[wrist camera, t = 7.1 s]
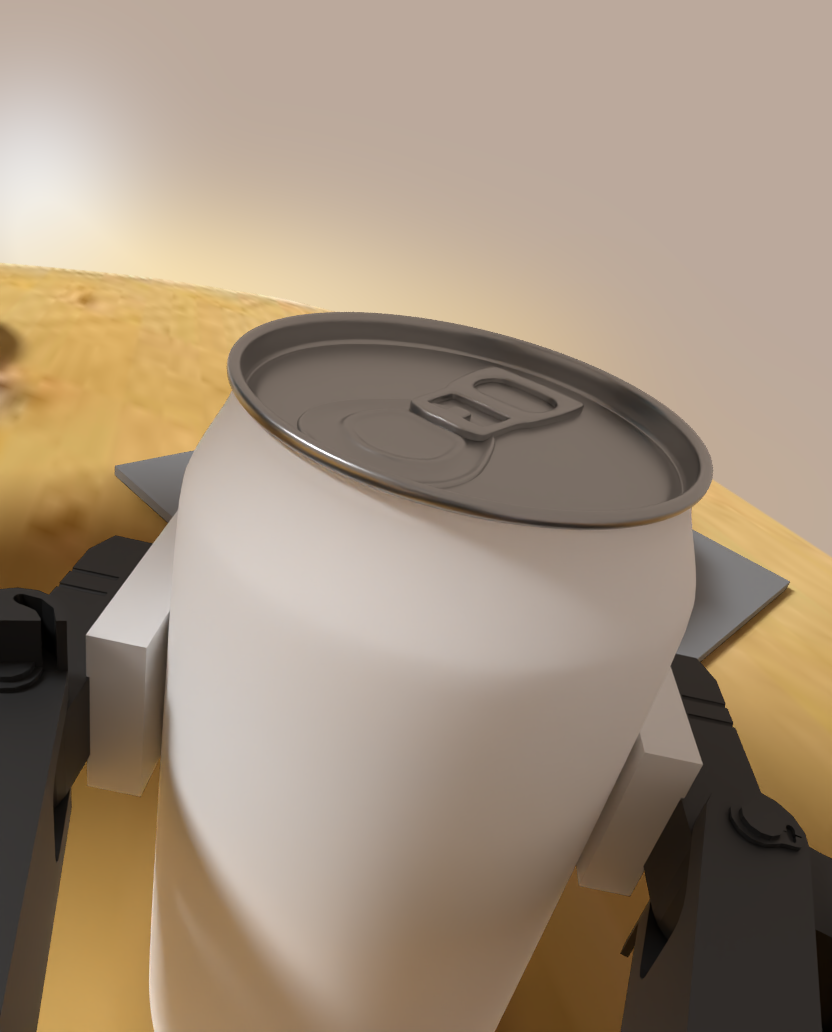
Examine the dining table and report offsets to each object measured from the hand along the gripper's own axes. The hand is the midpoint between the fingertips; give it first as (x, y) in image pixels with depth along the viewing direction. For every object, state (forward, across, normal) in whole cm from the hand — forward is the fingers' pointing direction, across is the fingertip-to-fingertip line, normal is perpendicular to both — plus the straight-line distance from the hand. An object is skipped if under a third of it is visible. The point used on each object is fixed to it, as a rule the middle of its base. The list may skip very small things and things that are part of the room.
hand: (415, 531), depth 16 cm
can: (-5, 0, -7) cm, 9 cm away
